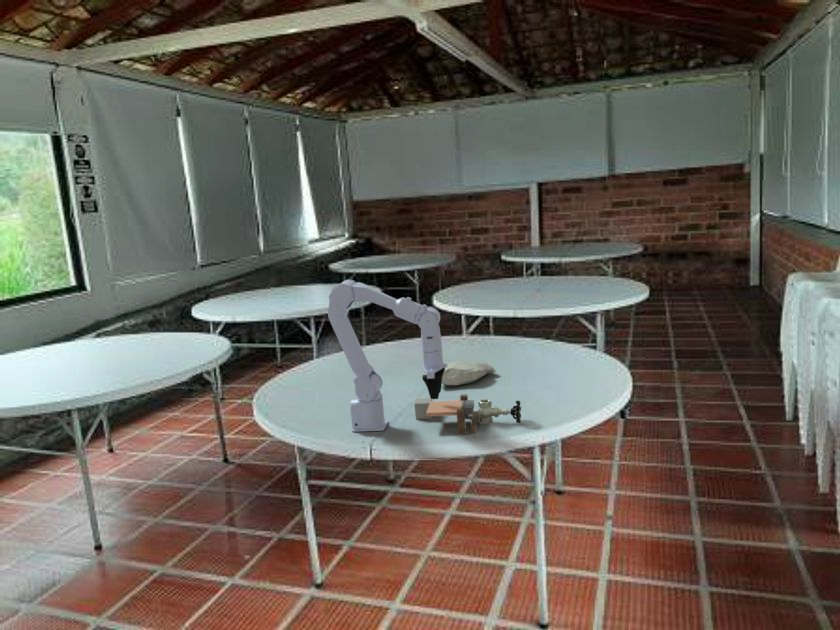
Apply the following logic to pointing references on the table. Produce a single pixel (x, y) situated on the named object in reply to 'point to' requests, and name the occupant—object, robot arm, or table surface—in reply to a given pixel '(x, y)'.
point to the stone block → (422, 408)
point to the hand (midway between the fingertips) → (435, 395)
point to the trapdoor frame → (461, 419)
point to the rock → (465, 372)
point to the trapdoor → (450, 408)
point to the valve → (496, 411)
